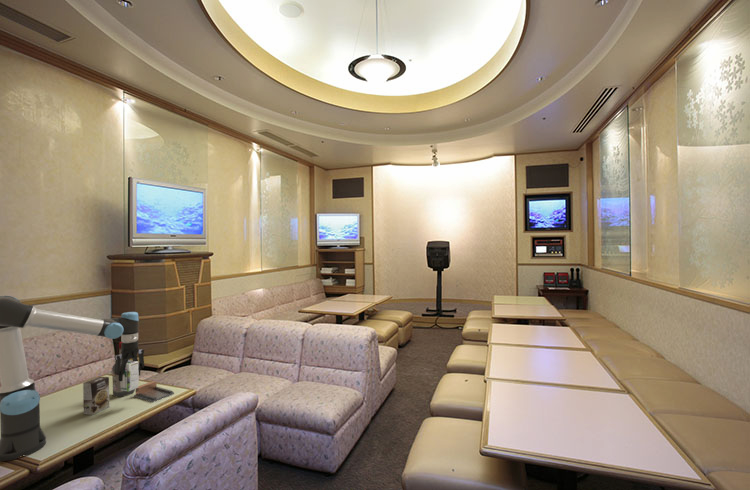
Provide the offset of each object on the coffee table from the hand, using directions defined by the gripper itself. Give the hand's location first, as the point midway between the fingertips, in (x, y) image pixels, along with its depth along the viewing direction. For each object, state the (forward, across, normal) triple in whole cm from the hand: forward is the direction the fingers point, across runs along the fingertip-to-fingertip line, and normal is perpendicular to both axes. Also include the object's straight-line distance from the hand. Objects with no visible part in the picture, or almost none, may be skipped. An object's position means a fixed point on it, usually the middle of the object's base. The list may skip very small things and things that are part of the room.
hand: (129, 384), depth 186 cm
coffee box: (+12, -10, +11) cm, 19 cm away
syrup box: (+3, 0, 0) cm, 3 cm away
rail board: (+11, +14, +2) cm, 18 cm away
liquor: (+12, +8, +21) cm, 25 cm away
